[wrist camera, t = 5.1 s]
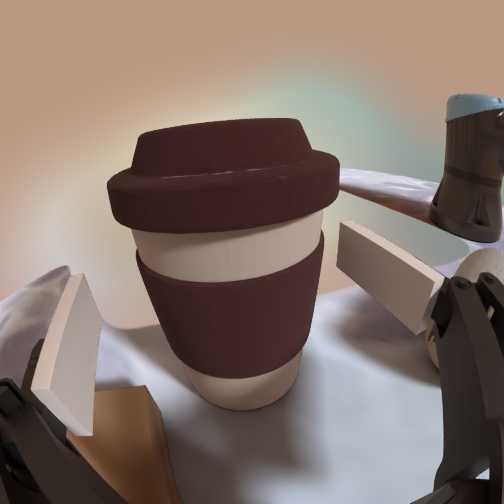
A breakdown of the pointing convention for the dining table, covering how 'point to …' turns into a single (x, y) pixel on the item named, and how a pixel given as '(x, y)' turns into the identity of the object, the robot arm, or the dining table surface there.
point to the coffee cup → (230, 248)
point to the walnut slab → (129, 446)
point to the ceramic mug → (470, 268)
